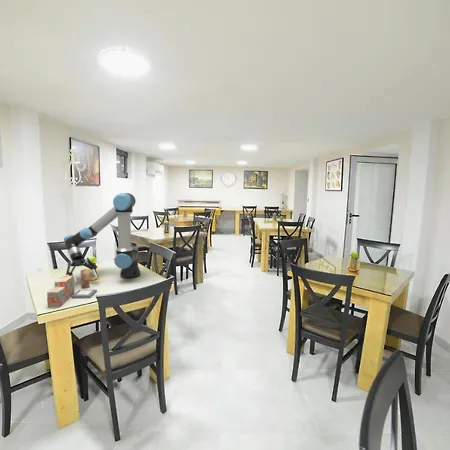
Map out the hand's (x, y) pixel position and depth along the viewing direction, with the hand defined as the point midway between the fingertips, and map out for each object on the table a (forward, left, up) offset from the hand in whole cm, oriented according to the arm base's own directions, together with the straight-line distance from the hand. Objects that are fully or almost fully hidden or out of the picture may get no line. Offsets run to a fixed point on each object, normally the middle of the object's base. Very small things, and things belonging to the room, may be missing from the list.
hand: (86, 280), depth 187 cm
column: (+1, -1, -6) cm, 6 cm away
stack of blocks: (+6, +20, -6) cm, 22 cm away
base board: (-4, +13, -6) cm, 14 cm away
